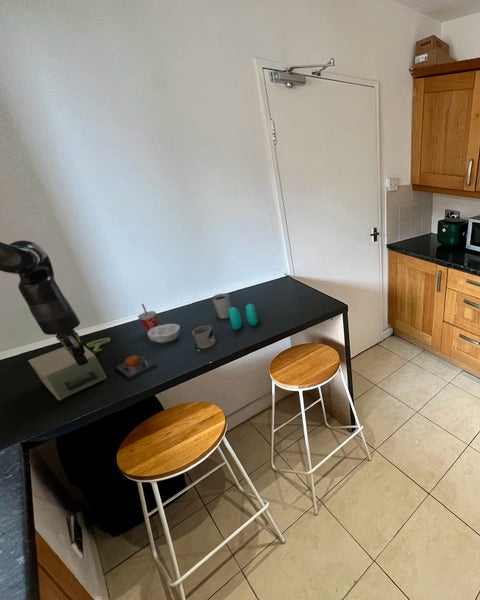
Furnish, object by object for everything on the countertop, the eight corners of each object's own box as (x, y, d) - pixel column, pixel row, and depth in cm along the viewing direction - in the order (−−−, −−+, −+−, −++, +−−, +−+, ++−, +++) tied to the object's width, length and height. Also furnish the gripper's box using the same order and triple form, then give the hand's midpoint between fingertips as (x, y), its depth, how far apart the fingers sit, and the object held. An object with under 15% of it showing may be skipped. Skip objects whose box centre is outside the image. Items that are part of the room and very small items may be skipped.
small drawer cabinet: (107, 377, 109) (94, 354, 105) (58, 400, 100) (42, 375, 95) (91, 364, 116) (78, 341, 111) (43, 384, 106) (27, 360, 102)
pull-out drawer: (110, 382, 106) (100, 363, 102) (65, 404, 97) (52, 383, 93) (90, 365, 114) (79, 346, 110) (47, 383, 105) (34, 363, 102)
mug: (215, 345, 126) (211, 332, 123) (196, 350, 124) (191, 336, 121) (216, 333, 134) (212, 320, 131) (198, 337, 132) (193, 324, 129)
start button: (141, 361, 113) (139, 357, 112) (129, 366, 110) (128, 362, 109) (137, 358, 115) (135, 354, 114) (125, 363, 112) (123, 359, 111)
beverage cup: (144, 338, 131) (131, 308, 125) (146, 331, 136) (134, 302, 130) (162, 334, 134) (150, 305, 127) (163, 327, 139) (152, 299, 132)
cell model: (165, 332, 135) (159, 318, 132) (189, 335, 133) (184, 321, 130) (144, 345, 126) (137, 331, 123) (169, 348, 124) (163, 334, 121)
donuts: (233, 323, 142) (227, 304, 137) (257, 318, 146) (252, 299, 141) (234, 334, 134) (228, 314, 129) (259, 328, 138) (254, 308, 133)
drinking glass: (236, 312, 150) (231, 294, 146) (226, 319, 145) (221, 300, 140) (224, 311, 152) (219, 292, 147) (214, 318, 146) (208, 298, 142)
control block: (155, 366, 114) (152, 360, 113) (129, 379, 108) (126, 372, 107) (142, 358, 119) (139, 351, 118) (117, 369, 113) (113, 363, 112)
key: (94, 356, 120) (92, 352, 119) (86, 345, 126) (84, 341, 125) (118, 347, 125) (116, 343, 124) (108, 337, 132) (106, 333, 131)
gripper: (28, 313, 87) (59, 363, 94) (42, 326, 80) (74, 378, 88) (64, 302, 92) (91, 350, 100) (80, 314, 86) (107, 364, 94)
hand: (83, 363), depth 94 cm, fingers closed
